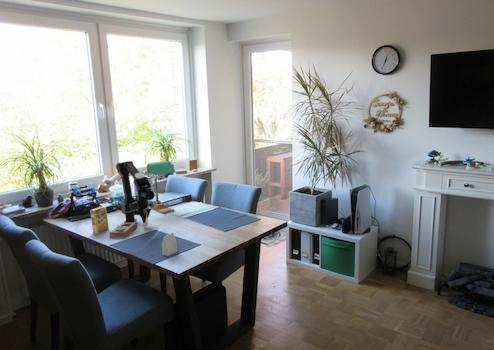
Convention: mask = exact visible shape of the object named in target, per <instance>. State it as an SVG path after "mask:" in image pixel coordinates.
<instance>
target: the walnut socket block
mask: <svg viewBox="0 0 494 350" xmlns="http://www.w3.org/2000/svg"><path fill="white" fill-rule="evenodd" d="M137 223H138V222H132V223H124V222H121V224H122V225H123V231H118V228H117V226H116V227H115V228H114V229H113V230H111V231H110V232H109V237H110V238H109V239H113V238H115V239H117V238H118V239H119V238H121V239H122V238H124V239H125V238H126V237H128V236H129V235H130V234H131V233H133V231H135V230H136V229H137V227H138V225H137Z"/></svg>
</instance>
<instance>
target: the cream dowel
mask: <svg viewBox="0 0 494 350" xmlns="http://www.w3.org/2000/svg"><path fill="white" fill-rule="evenodd" d="M146 212H147V211H146ZM148 220H149V218H148V219H147V217H146V221H145V223H143V222H142V226H143V227H148V226H149V221H148Z"/></svg>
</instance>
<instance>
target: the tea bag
mask: <svg viewBox="0 0 494 350" xmlns="http://www.w3.org/2000/svg"><path fill="white" fill-rule="evenodd" d="M177 243H178V242H177V239H176V237H175V234H174V232H171V233H169V234H167V235H164V236H163V237H162V241H161V251H162V256H166V257H169V256H171V255H173V254H175V253H177V252H178V245H177Z"/></svg>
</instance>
